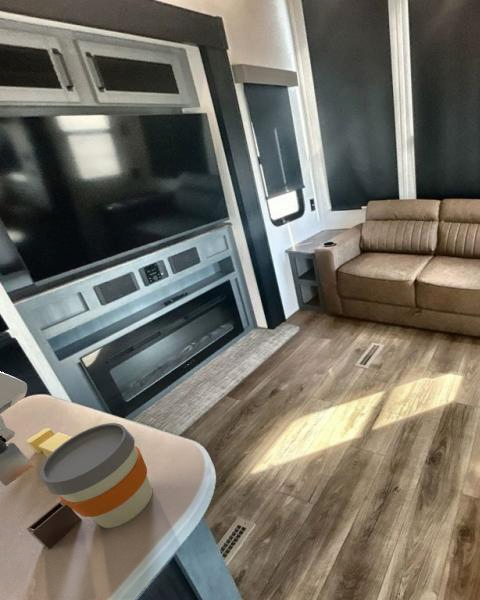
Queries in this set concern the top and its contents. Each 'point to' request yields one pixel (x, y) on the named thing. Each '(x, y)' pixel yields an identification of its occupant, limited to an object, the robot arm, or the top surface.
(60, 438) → the butter stick
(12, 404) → the robot arm
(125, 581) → the top surface
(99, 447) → the reusable coffee cup
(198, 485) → the top surface
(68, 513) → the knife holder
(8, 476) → the knife
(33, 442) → the butter slice
